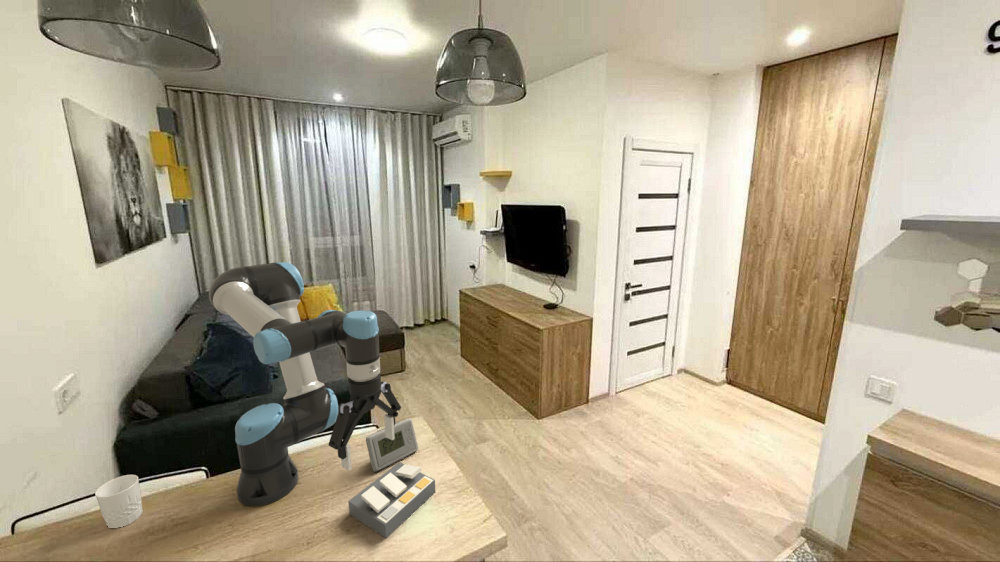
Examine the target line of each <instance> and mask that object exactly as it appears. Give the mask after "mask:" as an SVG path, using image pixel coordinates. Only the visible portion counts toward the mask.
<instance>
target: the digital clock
mask: <svg viewBox="0 0 1000 562" xmlns="http://www.w3.org/2000/svg"><path fill="white" fill-rule="evenodd" d="M394 436H395V439H394V440H391V439H389V438H386V437H385V427H383V428H381V429H379V430H377V431H376V432H374V433H372V434H369V435H368V436H366V437H365V442H366V443H365V444H366V448H367V452H368V457H369V461H370V464H371V469H372V471H373V472H378V471H380V470H382V469H386V468H388V467H390V466H391V465H393V464H395V463H397V462H400V461H401V460H403V459H404V458H407V457H409V456H410V455H411V454H413V453H415V452H417V451H418V449H419V444H418V440H417V436H416V431H415V427H414V423H413V420H412V418H411V417H408V418H405V419H403V420H400V421H399V420H398V421H396V422H395V425H394Z"/></svg>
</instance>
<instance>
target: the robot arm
mask: <svg viewBox="0 0 1000 562" xmlns="http://www.w3.org/2000/svg"><path fill="white" fill-rule="evenodd" d="M304 286H305V284H304V280H303V277H302V275H301V273H300V271H299V269H297V267H296V266H295V265H294V264H292V263H290V262H287V261H283V262H271V263H262V264H255V265H248V266H237V267H233V268H230V269H228V270H226V271H223V272H222V273H221V274H219V275H218V276H217V277H216V278H215V279H214V280H213V281H212V283H211V285H210V288H209V291H208V298H209V302H210V304H211V305H212V307H213V308H214V309H215V310H217V312H219V313H221V314H222V315H225V316H230V317H231V318H232V319H233V321H235V322H236V323H237V324H238V325H239V326H240V327H242V328H243V329H244V330H245V331H246V332H247V333H248V334H249V335H250V336H252V338H253V344H252V345H253V349H254V352H255V355H256V356H257V358H258V360H259V362H261V363H262V364H263V365H272V364H275V363H279V366H280V370H281V373H282V374H281V375H282V377H283V380H284V384H285V387H286V392H285V394H284V396H283V401H284V404H282V405H281V404H279V403H276V402H271V403H268V404H266V403H263V404H261V405H257V406H255V407H253V408H252V409H250V410H248V411H247V412H244V414H242V415H241V416H240V417H239V419H237V421H236V424H235V427H234V432H235V437H234V440H235V444H236V448H237V453H238V454H237V455H238V459H239V465H240V470H241V471H240V473H239V474H240V475H239V479H238V484H237V487H236V494H237V500H238V502H239V503H240V504H241V505H243V506H246V507H261V506H266V505H269V504H272V503H274V502H276V501H278V500H280V499H282V498H283V497H285V496H287V495H288V494H290V492H291V491H292V490H294V488H295V487H296V485H297V483H298V481H299V472H298V468H297V466H296V465H295V463H294V461H293V460H292V457H291V456H290V454H289V447H291V446H292V445H294V444H297V443H299V442H302V441H303V440H305V439H307V438H310V437H311V436H313V435H315V434H319V433H322V432H324V431H325V430H326V429H328V428H330V427H331V426H333V429H332V431H331V435H330V438H329V442H328V446H329V447H330V448H332V449H334V450H336V451H337V457H338V458H339V459H340V461H341V467H342V468H344V469H345V470H347V471H349V472H350V471H351V470H352V469H353V468H352V467H353V465H352V455H351V445H350V444H349V440H350V439H351V437H352V435H353V433H354V430H355V429H356V427H357V424H358V423H359V420H362V418H363V416H364V415H365V414H367V413H369V411H371V410H373V409H375V408H376V406H377V407H378V408H379V409H381V410H382V411H383V412H385V414H384V416H383V419H384V420H383V421H384V428H385V437H386V438H389V439H391V440H394V439H395V436H394V425H395V423H396V417H398V416H399V412H400V411H401V409H402V406H401V404H400V403H399V401H398V400H397V398H396V396H395V394H394V393H393V391H392V388H391V384H390V383H388V382H385V381H382V376H381V375H382V374H381V360H380V359H381V357H380V337H379V332H380V329H379V326H378V317H377V316H378V315H377V314H376V313H374V311H370V310H355V311H351V312H347V313H346V312H344V311H341V310H340V311H339V310H335V309H327V310H324V311H322V312H321V313H320V314H318V316H317V317H315V318H311V319H306V320H301V317H300V315H299V311H298V305H299V304H300V302H301V297H302V296H303V294H304V293H305V287H304ZM334 345H338V346H340V347H342V348H344V350H345V358H346V359H345V360H346V361H345V362H346V375H347V378H348V379H347V384H348V385H347V386H348V393H349V396H350V399H349V402H348V401H347V402H346V403H343V402H340V403H338V398H337V396H336V394H335V392H334V391H333V390H332V389H331V388H327V387H326V386H325V383H324V382H321V381H319V380H318V376H317V374H316V369H315V367H314V363H313V360H312V356H311V353H312V352H316V351H318V350H322V349H325V348H328V347H332V346H334ZM381 395H383V396H384V398H385V399H386V401H387V402H388V404H386V403H385V402H384V400H382V399H380V396H381ZM398 411H399V412H398ZM356 412H357V413H356Z"/></svg>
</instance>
